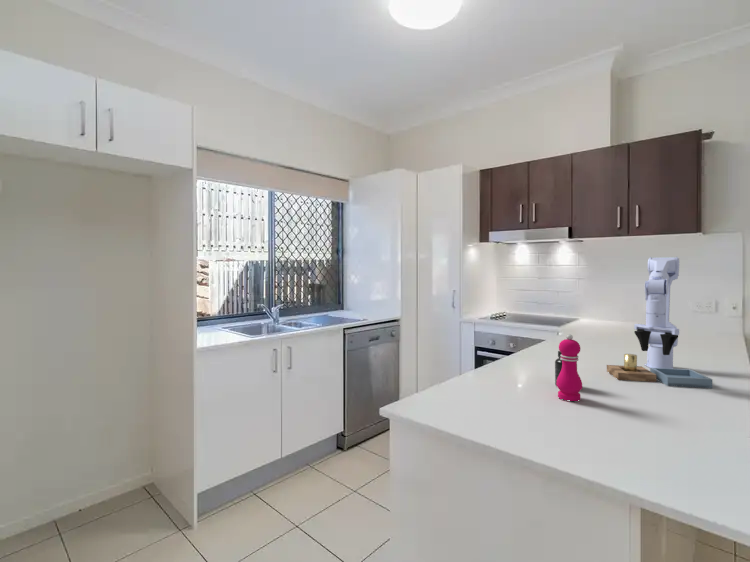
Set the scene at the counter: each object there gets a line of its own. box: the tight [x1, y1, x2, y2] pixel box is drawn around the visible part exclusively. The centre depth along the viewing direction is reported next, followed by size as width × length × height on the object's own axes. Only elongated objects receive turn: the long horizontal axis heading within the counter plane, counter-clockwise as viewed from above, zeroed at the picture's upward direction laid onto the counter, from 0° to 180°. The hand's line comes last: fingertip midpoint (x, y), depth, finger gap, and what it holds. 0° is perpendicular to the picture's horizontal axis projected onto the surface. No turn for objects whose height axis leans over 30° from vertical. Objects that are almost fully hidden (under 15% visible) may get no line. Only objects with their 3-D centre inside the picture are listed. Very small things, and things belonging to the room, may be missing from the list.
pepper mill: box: [555, 333, 583, 402], centre depth 122 cm, size 7×7×20 cm
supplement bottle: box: [554, 350, 562, 387], centre depth 134 cm, size 7×7×12 cm
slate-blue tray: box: [649, 368, 713, 389], centre depth 139 cm, size 13×13×3 cm
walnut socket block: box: [606, 364, 657, 383], centre depth 146 cm, size 12×12×2 cm
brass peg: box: [623, 353, 638, 372], centre depth 146 cm, size 4×4×8 cm
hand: (655, 352), depth 137 cm, fingers open, 7 cm apart
